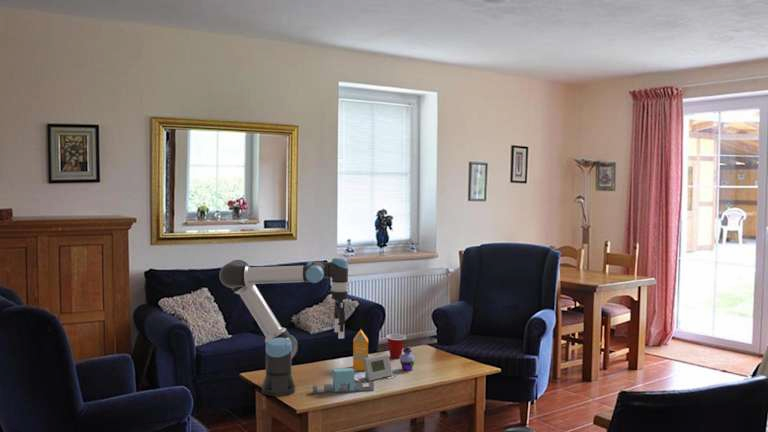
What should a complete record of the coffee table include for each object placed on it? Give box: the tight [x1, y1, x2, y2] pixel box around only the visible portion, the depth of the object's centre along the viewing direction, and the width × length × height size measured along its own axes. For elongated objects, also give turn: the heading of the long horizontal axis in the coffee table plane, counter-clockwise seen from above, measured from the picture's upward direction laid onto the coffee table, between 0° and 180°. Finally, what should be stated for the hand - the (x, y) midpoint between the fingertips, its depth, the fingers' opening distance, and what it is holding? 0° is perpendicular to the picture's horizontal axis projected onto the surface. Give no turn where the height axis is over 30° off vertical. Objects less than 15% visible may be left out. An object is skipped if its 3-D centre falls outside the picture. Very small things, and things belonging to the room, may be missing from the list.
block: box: [332, 367, 355, 391], centre depth 310 cm, size 9×4×9 cm, turn 105°
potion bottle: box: [399, 345, 416, 372], centre depth 348 cm, size 9×9×12 cm
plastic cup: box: [386, 333, 407, 360], centre depth 372 cm, size 11×11×12 cm
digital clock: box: [363, 353, 393, 382], centre depth 333 cm, size 16×9×11 cm, turn 121°
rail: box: [312, 380, 375, 395], centre depth 310 cm, size 28×3×4 cm, turn 104°
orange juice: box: [352, 328, 369, 370], centre depth 349 cm, size 8×9×20 cm
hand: (339, 335), depth 321 cm, fingers open, 13 cm apart
